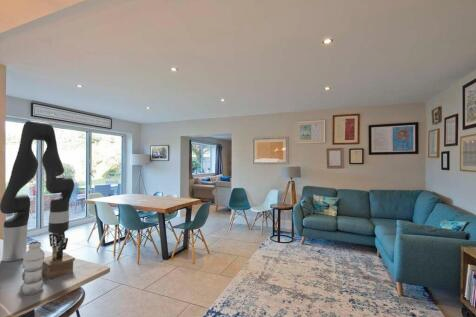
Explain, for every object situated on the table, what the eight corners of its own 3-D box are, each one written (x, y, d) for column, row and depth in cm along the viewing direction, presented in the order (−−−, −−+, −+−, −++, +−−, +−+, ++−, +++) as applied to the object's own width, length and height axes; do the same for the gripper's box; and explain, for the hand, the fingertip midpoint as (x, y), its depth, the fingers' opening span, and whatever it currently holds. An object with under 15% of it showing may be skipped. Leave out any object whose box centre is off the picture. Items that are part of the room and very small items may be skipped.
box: (40, 274, 108) (40, 261, 108) (62, 267, 116) (63, 255, 116) (49, 281, 103) (50, 267, 103) (72, 273, 111) (73, 260, 111)
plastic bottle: (30, 298, 90) (33, 246, 90) (16, 296, 92) (19, 244, 92) (47, 289, 97) (49, 241, 97) (34, 287, 98) (36, 239, 98)
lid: (39, 263, 108) (40, 248, 108) (63, 256, 117) (64, 242, 117) (49, 270, 103) (50, 253, 103) (74, 262, 111) (75, 247, 111)
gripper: (42, 219, 110) (41, 256, 110) (56, 224, 103) (54, 264, 103) (61, 216, 117) (59, 251, 116) (75, 221, 109) (73, 258, 109)
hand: (57, 257), depth 110 cm, fingers closed on lid, 3 cm apart
